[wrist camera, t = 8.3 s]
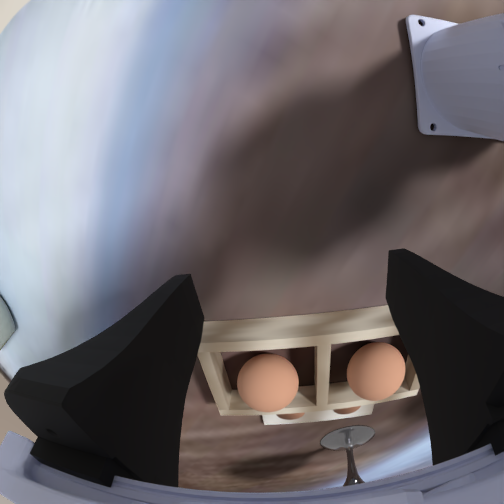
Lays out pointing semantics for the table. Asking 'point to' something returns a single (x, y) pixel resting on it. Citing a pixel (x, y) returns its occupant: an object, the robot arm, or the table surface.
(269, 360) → the loose ball
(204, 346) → the rack
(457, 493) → the robot arm
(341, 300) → the table surface
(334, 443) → the wine glass
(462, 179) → the table surface
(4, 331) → the air freshener
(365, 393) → the ball
